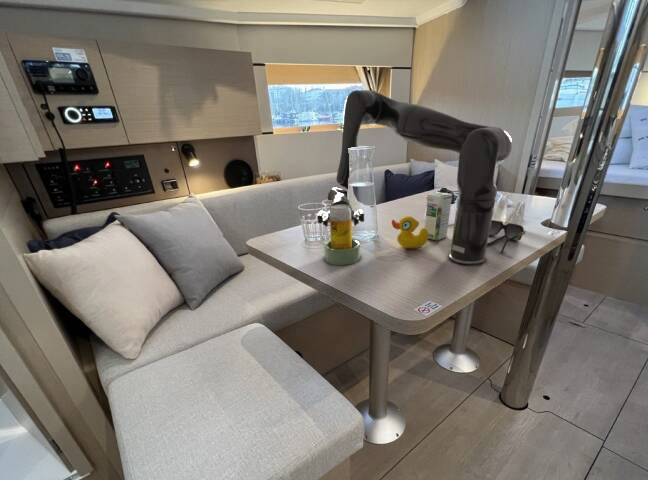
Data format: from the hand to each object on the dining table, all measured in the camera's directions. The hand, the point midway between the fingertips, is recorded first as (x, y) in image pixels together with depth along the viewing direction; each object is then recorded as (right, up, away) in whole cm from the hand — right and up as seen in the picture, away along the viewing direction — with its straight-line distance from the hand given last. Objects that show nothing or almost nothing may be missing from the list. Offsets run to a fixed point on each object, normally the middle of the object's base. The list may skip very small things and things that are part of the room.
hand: (340, 222), depth 92 cm
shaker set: (+60, +4, +23) cm, 64 cm away
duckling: (+22, -6, +9) cm, 25 cm away
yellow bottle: (0, -10, +4) cm, 10 cm away
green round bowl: (+1, -10, +4) cm, 11 cm away
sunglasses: (+49, -4, +10) cm, 50 cm away
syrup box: (+33, -1, +17) cm, 37 cm away
